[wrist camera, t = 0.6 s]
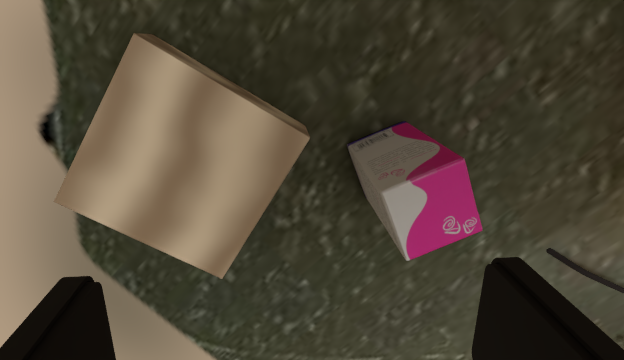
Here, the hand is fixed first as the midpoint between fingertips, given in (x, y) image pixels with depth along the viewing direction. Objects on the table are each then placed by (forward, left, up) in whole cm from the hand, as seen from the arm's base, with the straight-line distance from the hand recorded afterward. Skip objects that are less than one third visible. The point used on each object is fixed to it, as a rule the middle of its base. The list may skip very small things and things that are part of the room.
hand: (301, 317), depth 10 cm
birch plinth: (+5, +6, -26) cm, 28 cm away
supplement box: (-10, -2, -27) cm, 29 cm away
